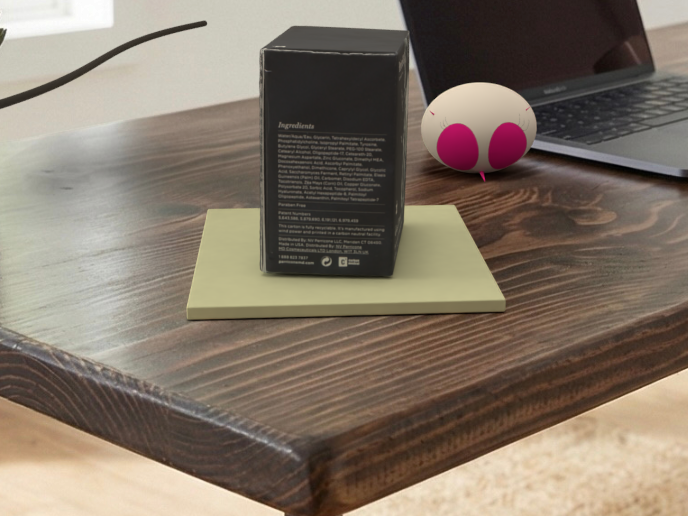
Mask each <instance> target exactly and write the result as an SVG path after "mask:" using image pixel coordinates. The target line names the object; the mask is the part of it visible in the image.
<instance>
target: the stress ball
mask: <svg viewBox="0 0 688 516" xmlns="http://www.w3.org/2000/svg"><path fill="white" fill-rule="evenodd" d="M537 130H538V128H537V118H536V114H535V112H534V110H533V108H532V106H531V105H530V104H529V103H528V101H527V100H526V99H525V98H524V97H523V96H522V95H520V94H519V93H517V92H516V91H515V90H513V89H511V88H508V87H506V86H504V85H501V84H496V83H491V82H469V83H463V84H460V85H456V86H454V87H450V88H449V89H447V90H445V91H443V92H442V93H440V94H438V95H437V97H436V98H435V99H433V100H432V101H431V102H430V104H428V106H427V108H426V110H425V111H424V113H423V115H422V118H421V124H420V135H421V139H422V142H423V145H424V147H425V148H426V150H427V151H428V153H429V154H430V155H431V156H432V157H433V158H434V159H435V160H436V161H437V162H439V163H440V164H442V165H444V166H445V167H447V168H449V169H452V170H455V171H458V172H462V173H467V174H480V176H481V178H482V179H483V181H484V182H486V179H485V174H489V173H494V172H497V171H501V170H504V169H507V168H508V167H511V166H513V165H514V164H515V163H517V162H519V161H520V160H522V158H523V157H524V156H525V155H526V154H527V153H528V152H529V151H530V149H531V148H532V146H533V144H534V142H535V139H536V136H537Z"/></svg>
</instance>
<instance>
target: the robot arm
mask: <svg viewBox="0 0 688 516" xmlns="http://www.w3.org/2000/svg"><path fill="white" fill-rule="evenodd" d="M207 25H208V21H207V20H200V21H194V22H190V23H185V24H181V25H176V26H173V27H168V28H164V29H160V30H157V31H153V32H150V33H148V34H145V35H142V36H139V37H136V38H134V39H133V38H132V39H131V40H128V41H127V42H124V43H123V44H119V45H118V46H116V47H114V48H113V49H110V50H108V51H107V52H104V53H103V54H102V55H99V56H98V57H96V58H95V59H93V60H91V61H89V62H87V63H86V64H84V65H81V67H78V68H76V69H75V70H73V71H71V72H68V73H67V74H64V75H62V76H60V77H58V78H55V79H53V80H51V81H49V82H45V83H44V84H40V85H38V86H36V87H33V88H30V89H27V90H25V91H22V92H19V93H16V94H13V95H10V96H7V97H3V98H1V99H0V110H3V109H5V108H8V107H12V106H14V105H17V104H20V103H23V102H26V101H28V100H31V99H34V98H37V97H39V96H42V95H44V94H47V93H49V92H52V91H54V90H56V89H58V88H60V87H62V86H64V85H66V84H69V83H70V82H73V81H74V80H77V79H78V78H80V77H82V76H84V75H86V74H87V73H89V72H91V71H92V70H94V69H96V68H98V67H99V66H101V65H103V64H104V63H106V62H107V61H109V60H110V59H112V58H114V57H116V56H118V55H119V54H122V53H123V52H126V51H128V50H130V49H132V48H134V47H136V46H139V45H142V44H145V43H146V42H150V41H152V40H156V39H159V38H162V37H165V36H170V35H173V34H177V33H180V32H185V31H190V30H195V29H199V28H204V27H207Z"/></svg>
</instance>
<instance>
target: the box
mask: <svg viewBox="0 0 688 516" xmlns="http://www.w3.org/2000/svg"><path fill="white" fill-rule="evenodd" d="M410 36H411V34H410V30H404V29H384V28H383V29H382V28H365V27H364V28H362V27H341V26H319V25H318V26H317V25H291V26H290V27H289V28H287V29H286V30H284V31H282V33H281V34H279V35H278V36H276V37H275V38H274V39H273V40H271V41H269V42H268V43H267V44H266V45H264V46H263V47H261V48H260V49H259V60H258V61H259V62H258V63H259V79H258V89H259V90H258V91H259V95H258V97H259V98H258V99H259V100H258V102H259V135H258V136H259V137H258V138H259V208H260V270H261V271H262V272H264V273H281V274H327V275H366V276H392V275H393V272H394V267H395V262H396V257H397V252H398V248H399V242H400V238H401V233H402V229H403V224H404V208H405V206H406V187H407V186H406V183H407V156H408V154H407V153H408V127H409V126H408V125H409V124H408V123H409V96H410V95H409V90H410V39H411V38H410Z"/></svg>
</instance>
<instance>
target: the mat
mask: <svg viewBox="0 0 688 516" xmlns="http://www.w3.org/2000/svg"><path fill="white" fill-rule="evenodd" d="M466 225H467V224H465V222H464V219H463V218H462V216H461V214H460V212H459V210H458V209H457V207H456V204H428V205H425V204H424V205H423V204H422V205H405V208H404V224H403V229H402V233H401V238H400V242H399V248H398V252H397V257H396V262H395V267H394V272H393V275H392V276H366V275H327V274H281V273H264V272H262V271H261V270H260V207H251V208H250V207H249V208H248V207H245V208H244V207H243V208H242V207H241V208H240V207H239V208H208V209H207V212H206V217H205V221H204V226H203V230H202V235H201V240H200V244H199V248H198V254H197V258H196V263H195V266H194V272H193V275H192V276H193V277H192V281H191V285H190V290H189V295H188V299H187V304H186V308H185V309H186V319H187V320H189V321H191V320H193V321H194V320H228V319H229V320H230V319H231V320H233V319H266V318H267V319H268V318H270V319H271V318H307V317H308V318H309V317H310V318H312V317H347V316H350V317H351V316H385V315H386V316H387V315H426V314H427V315H428V314H461V313H462V314H463V313H503V312H506V310H507V309H506V308H507V306H506V305H507V300H506V298H505V295H504V294H503V292H502V291H501V289H500V286H499V285H498V283H497V281H496V279H495V276H494V275H493V274H492V272H491V269H490V267H489V266H488V264H487V262H486V261H485V259H484V257H483V255H482V253H481V251H480V250H479V248H478V246H477V244H476V242H475V240H474V238H473V236H472V234H471V232H470V231H469V229H468V227H467V226H466Z"/></svg>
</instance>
